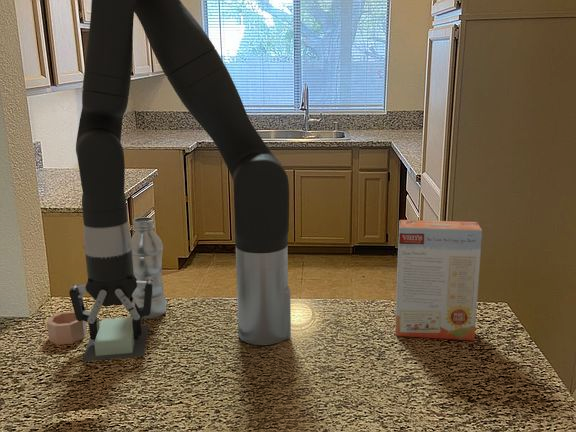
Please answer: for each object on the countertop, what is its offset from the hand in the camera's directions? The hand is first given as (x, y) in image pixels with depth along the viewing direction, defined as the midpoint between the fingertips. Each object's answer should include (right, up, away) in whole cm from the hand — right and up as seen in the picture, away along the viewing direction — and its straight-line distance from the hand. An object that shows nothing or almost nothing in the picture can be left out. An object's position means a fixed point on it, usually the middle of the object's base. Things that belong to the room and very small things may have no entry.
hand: (116, 338), depth 99 cm
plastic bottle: (+3, +1, +12) cm, 13 cm away
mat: (0, -2, 0) cm, 2 cm away
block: (0, -1, 0) cm, 1 cm away
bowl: (-10, -1, +3) cm, 10 cm away
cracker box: (+57, 0, +5) cm, 57 cm away
